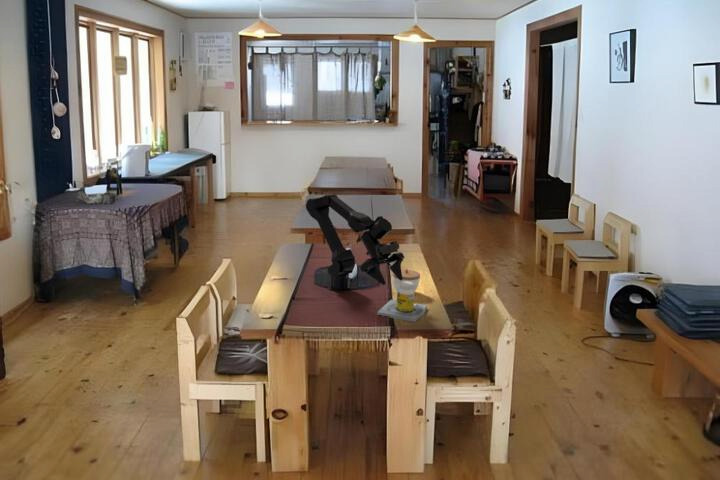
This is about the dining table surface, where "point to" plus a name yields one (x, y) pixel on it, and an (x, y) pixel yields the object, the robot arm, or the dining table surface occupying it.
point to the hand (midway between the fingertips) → (393, 282)
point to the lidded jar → (407, 279)
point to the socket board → (393, 313)
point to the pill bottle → (405, 297)
